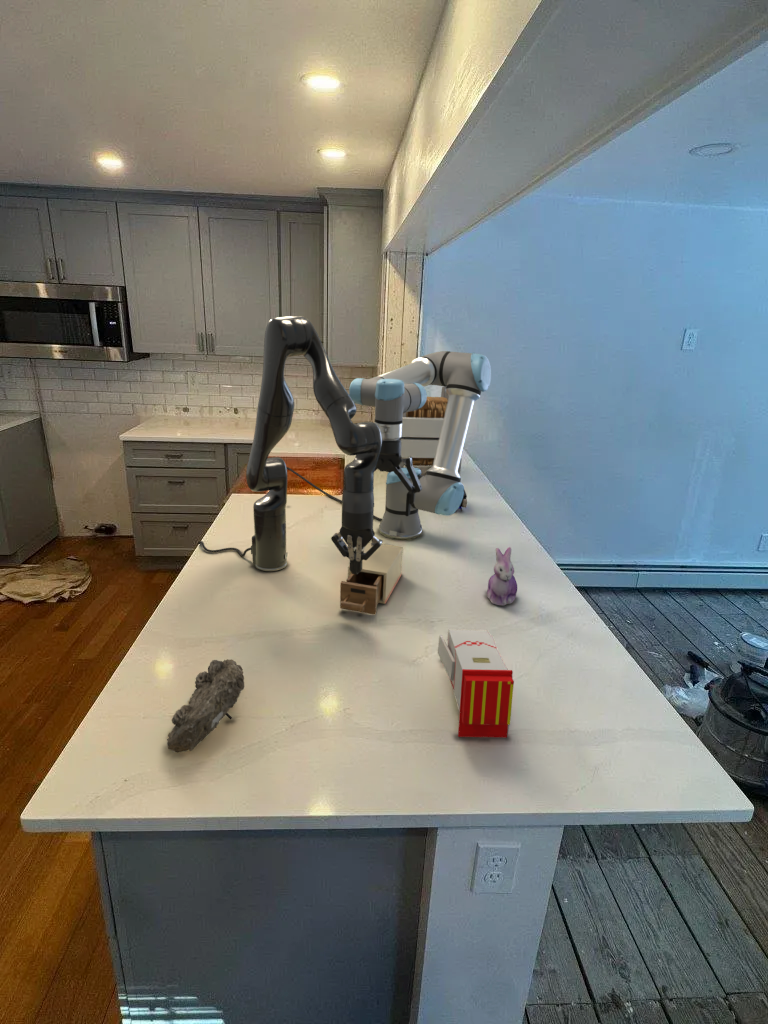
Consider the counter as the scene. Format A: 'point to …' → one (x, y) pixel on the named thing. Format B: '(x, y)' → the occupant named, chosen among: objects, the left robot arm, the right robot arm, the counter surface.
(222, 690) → the fossil
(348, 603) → the drawer
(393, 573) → the cabinet
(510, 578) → the figurine
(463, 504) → the figurine character
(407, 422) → the grey slatted crate
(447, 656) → the toy
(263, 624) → the counter surface
